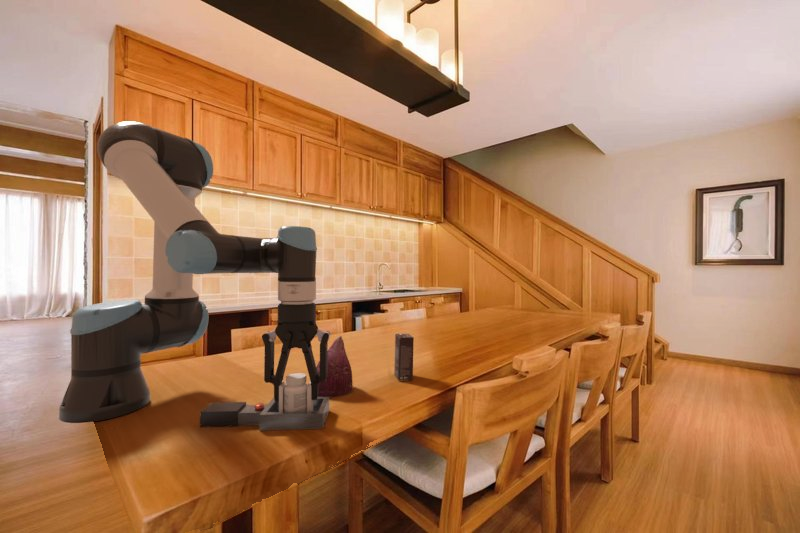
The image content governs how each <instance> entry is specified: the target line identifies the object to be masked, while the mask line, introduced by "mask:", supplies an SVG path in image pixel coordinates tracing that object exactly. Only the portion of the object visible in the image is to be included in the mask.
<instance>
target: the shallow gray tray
mask: <svg viewBox="0 0 800 533" xmlns="http://www.w3.org/2000/svg"><path fill="white" fill-rule="evenodd" d="M329 411H330V397H321V396H318V397H317V399H316V400H313V411H309V412H279V401H275V400H274V397H272V398H271V400H270V401H269V402H268V403H267V404H265V403H262V402H260V403H259V402H258V403H256V404H247V401H235V402H234V401H231V402H230V401H229V402H222V401H220V402H218V401H217V402H210V403H209V404H208V405H207V406H206V407H204V408H203V409H201V411H200V412H199V428H220V427H221V428H222V427H223V428H224V427H227V428H228V427H238V426H259V428H258V429H259V431H279V430H280V431H283V430H285V431H286V430H287V431H289V430H291V431H292V430H322V429H324V426H325V424H326V421H327V417H328V415H329Z"/></svg>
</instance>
